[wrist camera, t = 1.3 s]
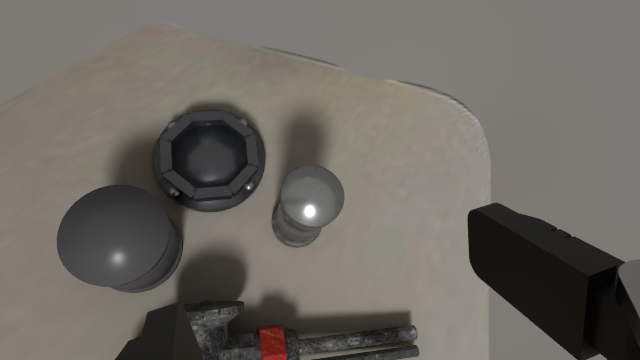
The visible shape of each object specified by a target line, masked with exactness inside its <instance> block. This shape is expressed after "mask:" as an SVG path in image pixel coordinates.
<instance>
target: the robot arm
mask: <svg viewBox="0 0 640 360" xmlns="http://www.w3.org/2000/svg"><path fill="white" fill-rule="evenodd" d="M468 241H469V259H470V263H471V266H472V268H473V270H474V272H475V273H476V275H477V276H478V277H479V278H480V279H481V280H482V281H484V282H485V283H486V284H487V285H488V286H490V287H491V288H492V289H493V290H494V291H496V292H497V293H498V294H499V295H500V296H502V297H503V298H504V299H505V300H506V301H508V302H509V303H510V304H511V305H512V306H514V307H515V308H516V309H517V310H518V311H520V312H521V313H522V314H523V315H524V316H526V317H527V318H528V319H529V320H530V321H532V322H533V323H534V324H535V325H536V326H538V327H539V328H540V329H541V330H542V331H544V332H545V333H546V334H547V335H548V336H550V337H551V338H552V339H553V340H554V341H556V342H557V343H558V344H559V345H560V346H562V347H563V348H564V349H565V350H567V351H568V352H569V353H570V354H571V355H573V356H574V357H575V358H576V359H577V360H586V359H589V358H591V357H593V356H596V355H598V354H601V355H603V356H604V357H605V358H607V360H640V260H632V261H629V262H624V261H622V260H620V259H617V258H616V257H614V256H612V255H610V254H608V253H606V252H604V251H602V250H600V249H598V248H596V247H594V246H592V245H590V244H588V243H586V242H584V241H582V240H580V239H578V238H576V237H571V235H570V234H568V233H567V232H565V231H562V230H560V229H559V230H557V228H556V227H555V226H553V225H551V224H549V223H547V222H545V221H543V220H541V219H538V218H534V217H531V216H527V215H523V214H519V213H517V212H515V211H513V210H511V209H509V208H507V207H505V206H503V205H501V204H499V203H492V204H489V205H486V206H483V207H480V208H477V209H473V210H471V211H470V212H469V214H468ZM115 360H203V357H202V353H201V350H200V347H199V344H198V342H197V339H196V337H195V334H194V332H193V329H192V326H191V324H190V321H189V319H188V316H187V313H186V311H185V308H184V306H183V304H182V303H181V302H178V303H175V304H172V305H169V306H165V307H162V308H159V309H156V310H153V311H150V312H148V313H147V316H146V321H145V325H144V330H143V335H142V337H139V338H136V339H133V340H130V341H128V342H127V344H126V345H125V347H124V348H123V349H122V351H121V352H120V354H119V355H118V356H117V358H116V359H115Z"/></svg>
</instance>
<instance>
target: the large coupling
mask: <svg viewBox="0 0 640 360" xmlns="http://www.w3.org/2000/svg"><path fill="white" fill-rule="evenodd" d="M182 247H183V245H182V239H181V235H180V233H179V230H178V229H177V227H176V226H175V224H174V223H173V222H172V221H171V220H170V219H169V218H168V216H167V214H166V212H165V210H164V208H163V207H162V205H161V204H160V203H159V202H158V200H157V199H156V198H155V197H153V196H152V195H151V194H149V193H148V192H146V191H144V190H142V189H140V188H137V187H133V186H128V185H112V186H106V187H102V188H99V189H96V190H94V191H92V192H90V193H88V194H86V195H84V196H83V197H81V198H80V199H79V200H78V201H76V202H75V203H74V204H73V205H72V206H71V207H70V209H69V210H68V211H67V213H66V214H65V216H64V217H63V219H62V221H61V224H60V226H59V230H58V234H57V249H58V254H59V257H60V259H61V261H62V263H63V265H64V266H65V267H66V269H67V270H68V271H69V272H70V273H71V274H72V275H73V276H75V277H76V278H78V279H80V280H82V281H84V282H86V283H89V284H93V285H97V286H103V287H111V288H113V289H116V290H119V291H123V292H129V293H138V292H144V291H148V290H151V289H153V288H155V287H157V286H159V285H161V284H162V283H164V282H165V281H166V280H167V279H168V278H169V277H170V276H171V275H172V274H173V273H174V271H175V270H176V268H177V267H178V264H179V262H180V259H181V256H182Z"/></svg>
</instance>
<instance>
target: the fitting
mask: <svg viewBox="0 0 640 360" xmlns="http://www.w3.org/2000/svg"><path fill="white" fill-rule="evenodd" d="M343 204H344V191H343V187H342V185H341V183H340V181H339V179H338V178H337V177H336V176H335V175H334V174H333V173H332V172H331V171H329V170H328V169H326V168H323V167H321V166H316V165H306V166H302V167H299V168H297V169H295V170H294V171H292V172H291V173H290V174H289V175H288V176H287V178H286V179H285V181H284V183H283V186H282V189H281V194H280V204H279V205H278V206H277V207H276V209H275V211H274V213H273V217H272V228H273V232H274V234H275V235H276V237H277V238H278V239H279V240H280V241H281V242H282V243H284V244H285V245H287V246H290V247H303V246H306V245H308V244H310V243H312V242H313V241H314V240H315V239H316V238H317V237H318V235H319V234H320V232H321V229H322V228H323V227H324V226H326V225H328V224H329V223H331V222H332V221H333V220H334V219H335V218H336V217H337V216H338V215H339V213H340V212H341V210H342V207H343Z"/></svg>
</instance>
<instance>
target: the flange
mask: <svg viewBox="0 0 640 360" xmlns="http://www.w3.org/2000/svg"><path fill="white" fill-rule="evenodd" d="M153 165H154V171H155V175H156V177H157V179H158V182H159V183H160V185H161V186H162V188H163V190H164V191H165V192H166V193H167V195H168V196H169V197H170V198H172V199H173V200H174V201H175V202H177V203H178V204H180V205H182V206H184V207H186V208H189V209H191V210H195V211H200V212H218V211H223V210H227V209H230V208H232V207H235V206H237V205H239V204H240V203H242V202H243V201H245V200H246V199H247V198H248V197H249V196H250V195H251V194H252V193H253V192H254V191H255V190H256V188H257V187H258V185H259V183H260V181H261V179H262V176H263V172H264V167H265V152H264V147H263V144H262V141H261V139H260V137H259V135H258V134H257V132H256V131H255V130H254V129H253V128H252V126H251V125H249V124H248V123H247V121H246V120H245V119H242V118H240V117H238V116H236V115H234V114H231V113H229V112H225V111H220V110H200V111H195V112H189V113H188V114H187V113H186V114H185V115H184V116H181V117H180V118H178V119H176V120H175V121H172V122H169V123H168V127H167V128H166V129H165V130H164V131H163V133H162V134H161V135H160V137H159V139H158V141H157V143H156V146H155V149H154V154H153Z"/></svg>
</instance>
